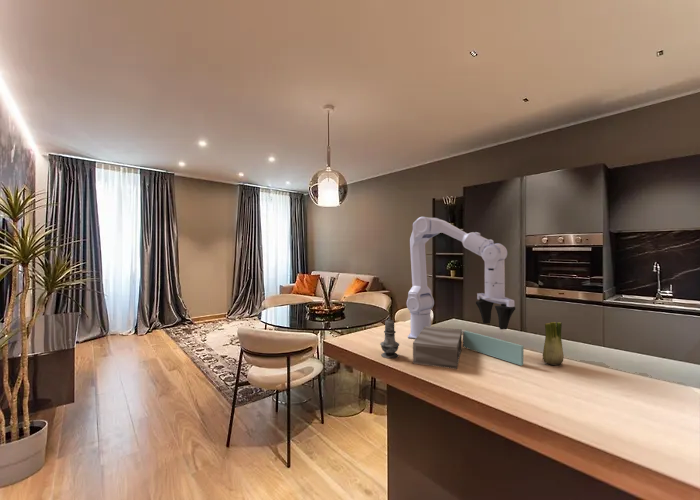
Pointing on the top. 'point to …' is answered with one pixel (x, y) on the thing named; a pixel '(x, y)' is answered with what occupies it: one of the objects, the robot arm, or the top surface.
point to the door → (494, 347)
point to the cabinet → (438, 347)
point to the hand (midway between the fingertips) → (494, 326)
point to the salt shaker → (389, 341)
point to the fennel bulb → (553, 344)
